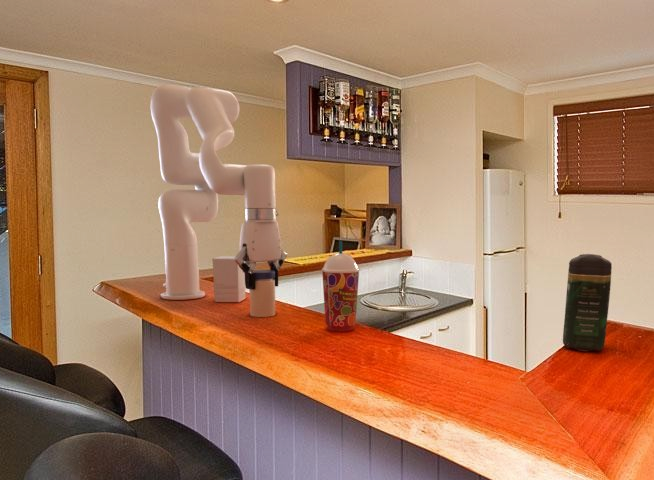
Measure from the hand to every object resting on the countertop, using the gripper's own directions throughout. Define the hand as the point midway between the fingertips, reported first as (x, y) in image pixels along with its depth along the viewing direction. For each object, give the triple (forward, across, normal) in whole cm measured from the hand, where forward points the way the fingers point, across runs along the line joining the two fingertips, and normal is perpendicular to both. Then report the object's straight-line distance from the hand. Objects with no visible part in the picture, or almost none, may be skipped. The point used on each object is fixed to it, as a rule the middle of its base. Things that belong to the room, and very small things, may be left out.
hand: (262, 286), depth 141 cm
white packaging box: (+7, -6, -23) cm, 25 cm away
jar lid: (-4, 0, 0) cm, 4 cm away
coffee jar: (+7, -25, +72) cm, 76 cm away
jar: (+7, 0, 0) cm, 7 cm away
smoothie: (+7, -2, +26) cm, 27 cm away
